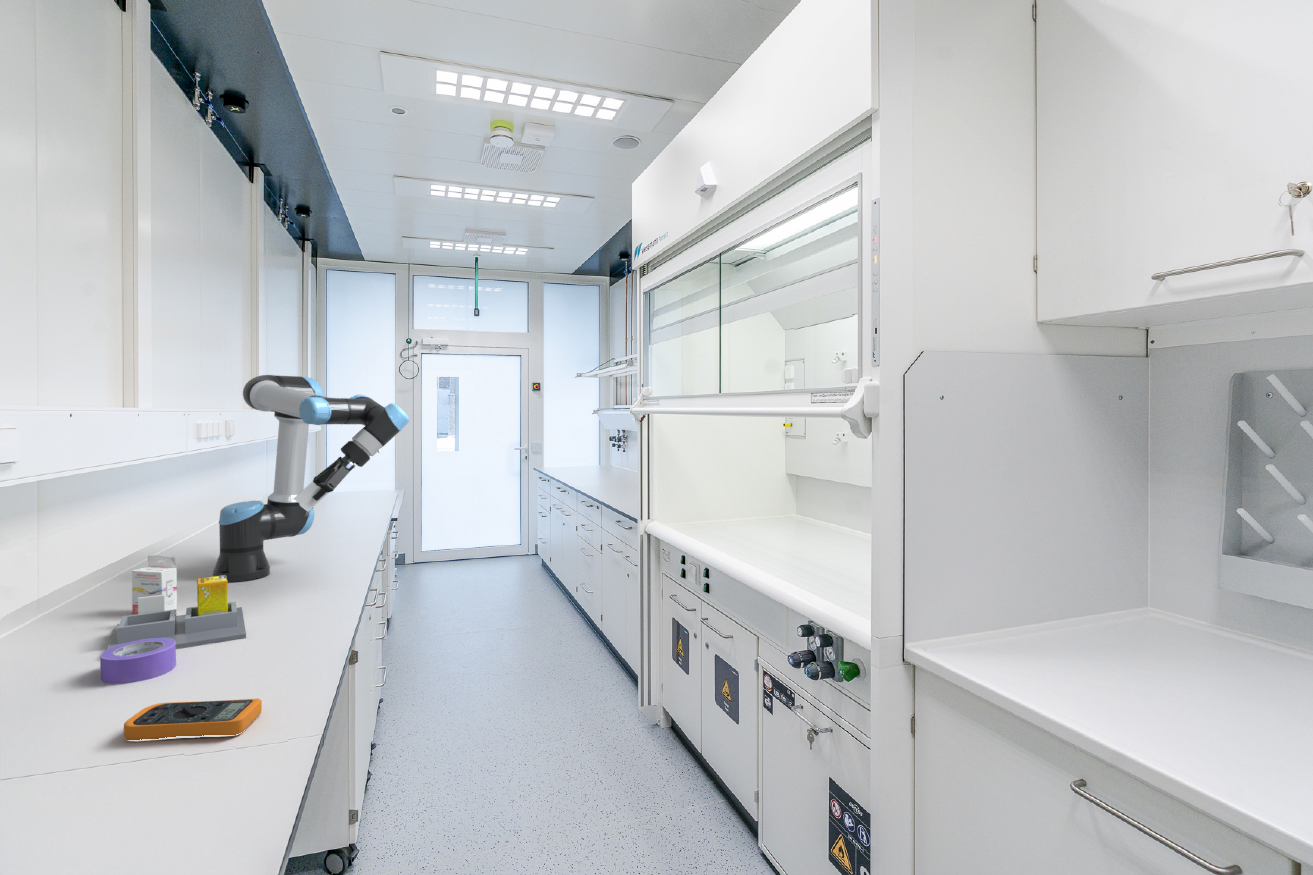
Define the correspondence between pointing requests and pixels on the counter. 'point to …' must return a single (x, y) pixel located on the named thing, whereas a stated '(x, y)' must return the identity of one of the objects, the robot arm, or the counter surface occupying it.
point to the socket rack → (178, 625)
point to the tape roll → (138, 660)
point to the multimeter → (192, 719)
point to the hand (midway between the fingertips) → (300, 505)
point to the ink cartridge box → (156, 581)
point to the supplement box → (212, 595)
